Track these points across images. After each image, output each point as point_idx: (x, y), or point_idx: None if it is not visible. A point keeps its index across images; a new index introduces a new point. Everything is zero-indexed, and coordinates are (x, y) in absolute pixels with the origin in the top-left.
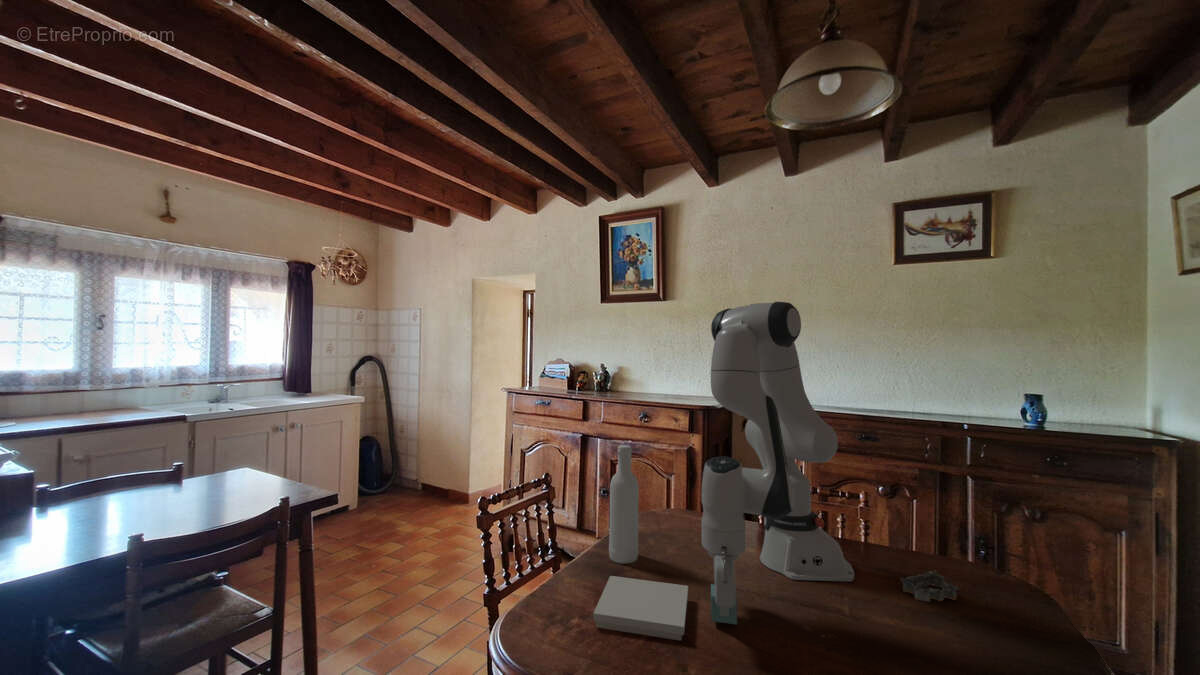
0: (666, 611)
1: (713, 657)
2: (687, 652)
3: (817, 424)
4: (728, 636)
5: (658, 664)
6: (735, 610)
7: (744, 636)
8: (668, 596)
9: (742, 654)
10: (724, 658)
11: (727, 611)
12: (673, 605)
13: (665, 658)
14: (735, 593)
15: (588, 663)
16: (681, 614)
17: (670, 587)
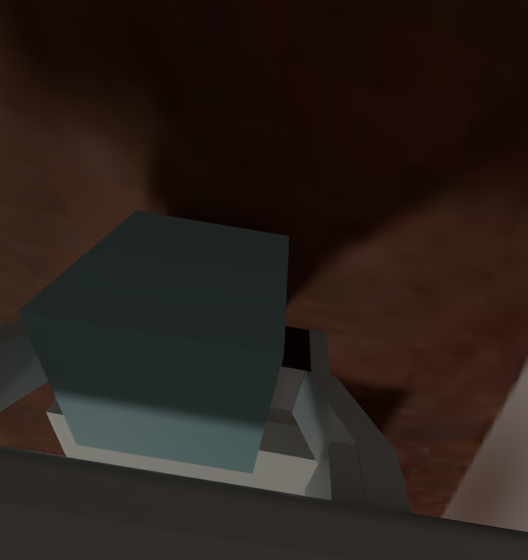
0: (277, 489)
1: (479, 355)
2: (426, 413)
3: None
4: (340, 272)
5: (463, 469)
6: (283, 292)
7: (344, 191)
8: (169, 471)
9: (500, 242)
10: (500, 322)
11: (326, 357)
12: (232, 471)
13: (441, 456)
14: (167, 341)
15: None
16: (294, 464)
17: (97, 457)
